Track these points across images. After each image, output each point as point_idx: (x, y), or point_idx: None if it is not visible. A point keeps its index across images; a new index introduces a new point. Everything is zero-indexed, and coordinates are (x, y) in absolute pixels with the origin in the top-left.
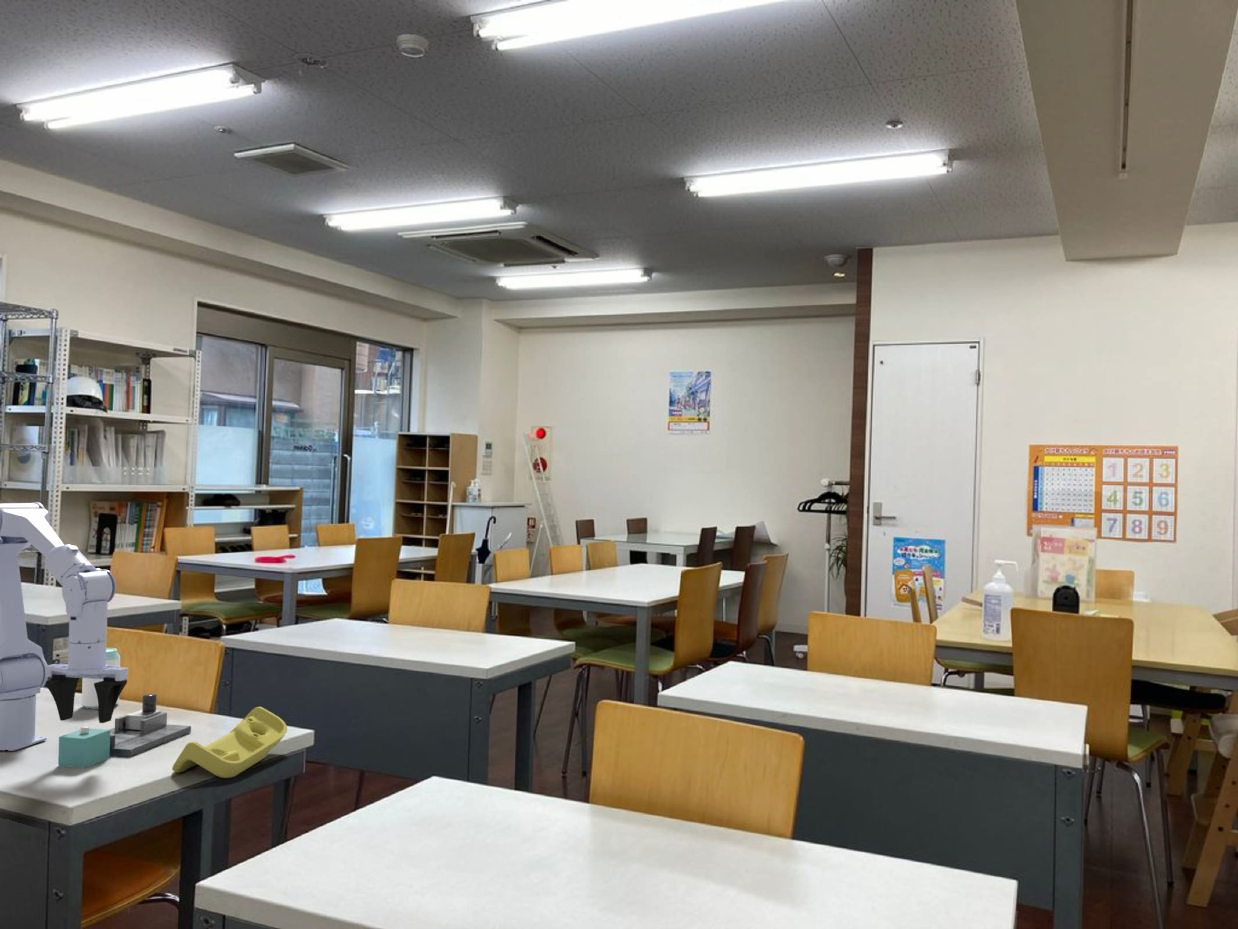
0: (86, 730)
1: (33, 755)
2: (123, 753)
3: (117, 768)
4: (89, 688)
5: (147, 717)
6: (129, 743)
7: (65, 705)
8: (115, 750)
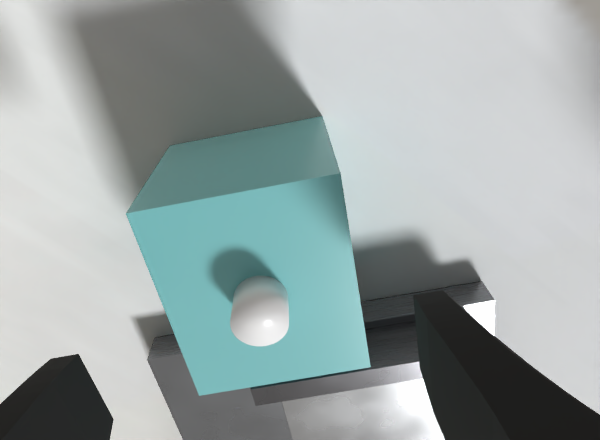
0: (234, 306)
1: (587, 189)
2: None
3: (25, 207)
4: None
5: None
6: (245, 411)
7: (463, 413)
8: None
